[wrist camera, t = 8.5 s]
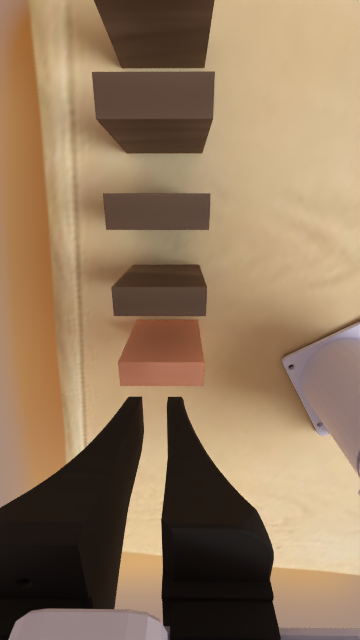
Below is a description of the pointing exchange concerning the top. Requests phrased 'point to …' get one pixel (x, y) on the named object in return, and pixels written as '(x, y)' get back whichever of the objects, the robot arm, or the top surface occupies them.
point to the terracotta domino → (163, 354)
